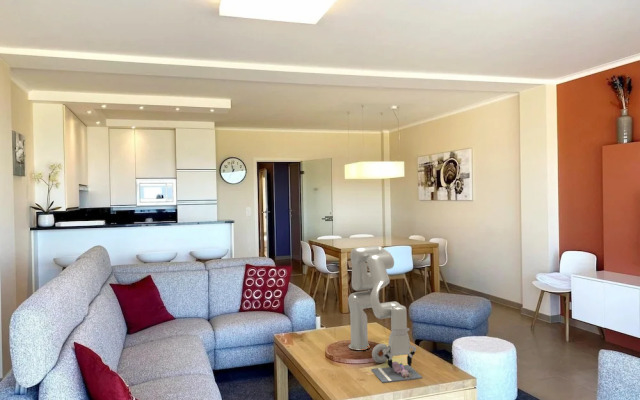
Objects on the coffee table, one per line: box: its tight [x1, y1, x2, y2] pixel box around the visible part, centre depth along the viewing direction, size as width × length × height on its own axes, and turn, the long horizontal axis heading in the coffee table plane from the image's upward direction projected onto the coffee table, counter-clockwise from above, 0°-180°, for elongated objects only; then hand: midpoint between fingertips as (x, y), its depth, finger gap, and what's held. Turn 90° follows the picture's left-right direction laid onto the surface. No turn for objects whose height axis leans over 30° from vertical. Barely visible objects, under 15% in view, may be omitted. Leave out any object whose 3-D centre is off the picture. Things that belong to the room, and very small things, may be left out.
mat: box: [371, 364, 423, 384], centre depth 233 cm, size 16×20×1 cm
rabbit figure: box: [392, 361, 411, 378], centre depth 232 cm, size 6×6×15 cm
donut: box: [371, 343, 389, 364], centre depth 248 cm, size 10×4×10 cm, turn 108°
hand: (399, 366), depth 233 cm, fingers open, 9 cm apart
